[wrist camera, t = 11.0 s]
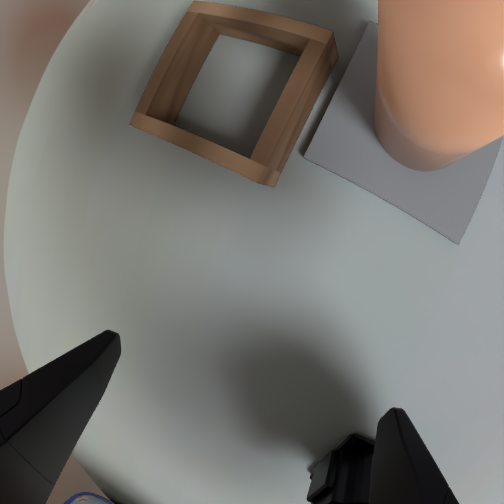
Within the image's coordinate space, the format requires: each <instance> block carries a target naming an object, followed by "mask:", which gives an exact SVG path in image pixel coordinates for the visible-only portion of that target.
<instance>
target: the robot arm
mask: <svg viewBox="0 0 504 504" xmlns="http://www.w3.org/2000/svg"><path fill="white" fill-rule="evenodd" d="M120 355H121V342H120V335H119V334H118V333H116V332H114V331H111V330H106V331H104V332H102V333H100V334H98V335H97V336H95V337H93V338H91V339H90V340H88V341H86V342H84V343H83V344H81V345H79V346H77V347H76V348H74V349H72V350H70V351H69V352H67V353H65V354H63V355H62V356H60V357H58V358H56V359H55V360H53V361H51V362H49V363H48V364H46V365H44V366H43V367H41V368H39V369H37V370H36V371H34V372H32V373H30V374H29V375H27V376H25V377H24V378H23V379H20V380H18V381H16V382H15V383H13V384H11V385H9V386H7V387H5V388H3V389H2V390H0V504H46V502H47V500H48V498H49V496H50V493H51V492H52V490H53V488H54V485H55V483H56V481H57V479H58V478H59V476H60V474H61V472H62V470H63V468H64V466H65V464H66V462H67V460H68V458H69V456H70V454H71V453H72V451H73V449H74V447H75V445H76V443H77V441H78V439H79V438H80V436H81V434H82V432H83V430H84V428H85V427H86V425H87V423H88V421H89V419H90V418H91V416H92V414H93V412H94V411H95V409H96V407H97V405H98V403H99V402H100V400H101V398H102V396H103V394H104V392H105V390H106V388H107V385H108V383H109V381H110V378H111V376H112V374H113V371H114V369H115V367H116V364H117V362H118V360H119V357H120ZM353 439H356V441H353ZM310 479H311V480H312V481H311V484H310V488H309V491H308V495H307V501H308V502H311V504H459V503H458V501H457V499H456V497H455V496H454V494H453V492H452V490H451V489H450V487H449V485H448V484H447V482H446V480H445V478H444V476H443V475H442V473H441V471H440V469H439V468H438V466H437V464H436V463H435V461H434V459H433V457H432V456H431V454H430V452H429V451H428V449H427V447H426V445H425V444H424V442H423V440H422V439H421V437H420V435H419V434H418V432H417V430H416V429H415V427H414V425H413V424H412V422H411V420H410V419H409V417H408V416H407V414H406V412H405V411H404V410H403V409H402V408H395V407H393V408H391V409H390V410H389V411H388V412H387V413H386V414H385V415H384V416H383V417H382V418H381V419H380V420H379V422H378V426H377V433H376V441H375V442H373V441H371V440H369V439H367V438H365V437H362V436H360V435H358V434H352V435H350V436H349V437H348V438H347V439H346V440H345V441H344V442H343V443H342V444H341V445H340V446H339V447H338V448H337V449H334V450H332V451H331V452H330V453H329V454H327V455H326V456H325V457H324V458H323V459H322V460H321V461H320V462H319V463H318V464H317V465H316V466H315V470H314V471H313V472H312V473H311V475H310Z"/></svg>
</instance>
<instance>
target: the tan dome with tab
mask: <svg viewBox="0 0 504 504" xmlns="http://www.w3.org/2000/svg"><path fill="white" fill-rule="evenodd" d="M373 122H374V128H375V132H376V135H377V138H378V140H379V142H380V144H381V145H382V147H383V148H384V149H385V151H386V152H387V153H388V154H389V155H390V156H391V157H392V158H393V159H394V160H395V161H397V162H398V163H400V164H401V165H403V166H405V167H407V168H410V169H413V170H417V171H425V172H428V171H436V170H439V169H442V168H444V167H446V166H448V165H450V164H452V163H454V162H455V161H457V160H459V159H461V158H463V157H465V156H467V155H468V154H470V153H472V152H474V151H476V150H478V149H480V148H481V147H483V146H485V145H487V144H489V143H491V142H492V141H494V140H496V139H498V138H500V137H502V136H503V135H504V0H378V53H377V73H376V89H375V101H374V113H373Z"/></svg>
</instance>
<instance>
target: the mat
mask: <svg viewBox="0 0 504 504" xmlns="http://www.w3.org/2000/svg"><path fill="white" fill-rule="evenodd" d="M377 53H378V24H377V23H374V22H372V21H370V22H369V24H368V26H367V28H366V30H365V32H364V34H363V36H362V38H361V40H360V42H359V44H358V46H357V48H356V51H355V53H354V55H353V57H352V59H351V61H350V63H349V65H348V67H347V69H346V71H345V73H344V75H343V77H342V79H341V81H340V83H339V86H338V88H337V90H336V92H335V94H334V96H333V98H332V100H331V102H330V104H329V106H328V108H327V110H326V112H325V114H324V116H323V118H322V120H321V122H320V125H319V127H318V129H317V131H316V133H315V135H314V137H313V139H312V141H311V143H310V145H309V147H308V149H307V151H306V153H305V155H304V158H305V159H307V160H309V161H311V162H313V163H315V164H317V165H319V166H321V167H323V168H325V169H327V170H329V171H331V172H333V173H335V174H337V175H339V176H341V177H343V178H345V179H347V180H348V181H350V182H352V183H354V184H356V185H358V186H360V187H362V188H363V189H365V190H367V191H369V192H371V193H373V194H374V195H376V196H378V197H380V198H382V199H383V200H385V201H387V202H389V203H390V204H392V205H394V206H396V207H397V208H399V209H401V210H402V211H404V212H406V213H407V214H409V215H411V216H413V217H414V218H416V219H417V220H419V221H421V222H422V223H424V224H426V225H427V226H429V227H430V228H432V229H434V230H435V231H437V232H438V233H440V234H442V235H443V236H445V237H446V238H448V239H449V240H451V241H452V242H454V243H455V244H458V245H459V243H460V241H461V239H462V237H463V235H464V233H465V231H466V229H467V227H468V225H469V222H470V220H471V218H472V216H473V214H474V212H475V209H476V207H477V205H478V202H479V200H480V198H481V195H482V193H483V191H484V188H485V186H486V183H487V181H488V178H489V176H490V173H491V171H492V168H493V165H494V162H495V160H496V157H497V154H498V151H499V148H500V145H501V142H502V139H503V136H504V135H503V136H502V137H500V138H498V139H496V140H494V141H492V142H491V143H489V144H487V145H485V146H483V147H481V148H480V149H478V150H476V151H474V152H472V153H470V154H468V155H467V156H465V157H463V158H461V159H459V160H457V161H455V162H454V163H452V164H450V165H448V166H446V167H444V168H442V169H439V170H436V171H428V172H425V171H417V170H413V169H410V168H407V167H405V166H403V165H401V164H400V163H398V162H397V161H395V160H394V159H393V158H392V157H391V156H390V155H389V154H388V153H387V152H386V151H385V149H384V148H383V147H382V145H381V144H380V142H379V140H378V138H377V135H376V132H375V128H374V122H373V113H374V101H375V89H376V73H377Z"/></svg>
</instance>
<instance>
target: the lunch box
mask: <svg viewBox="0 0 504 504" xmlns="http://www.w3.org/2000/svg"><path fill="white" fill-rule="evenodd" d="M64 504H114V503H113V502H112V501H111V500H108V499H106V498H104V497H102V496H99V495H97V494H94V493H89V492H83V493H78V494H76V495H74V496H72V497H71V498H70V499H68V500H67V501H66V502H65V503H64Z"/></svg>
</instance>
